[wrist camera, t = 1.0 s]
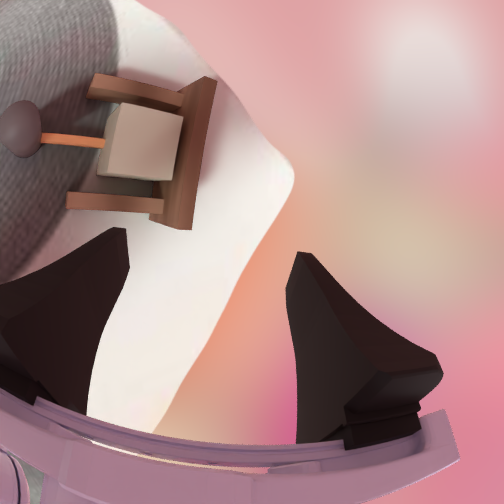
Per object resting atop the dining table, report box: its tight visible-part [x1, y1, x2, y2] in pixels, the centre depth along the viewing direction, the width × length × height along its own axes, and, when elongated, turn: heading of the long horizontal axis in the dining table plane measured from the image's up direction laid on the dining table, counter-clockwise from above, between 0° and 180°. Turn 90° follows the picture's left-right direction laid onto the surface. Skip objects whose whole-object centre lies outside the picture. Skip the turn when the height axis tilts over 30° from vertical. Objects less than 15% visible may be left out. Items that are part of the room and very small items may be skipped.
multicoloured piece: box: [0, 100, 183, 181], centre depth 15 cm, size 14×5×6 cm, turn 77°
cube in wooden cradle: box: [65, 73, 217, 230], centre depth 18 cm, size 9×12×6 cm
